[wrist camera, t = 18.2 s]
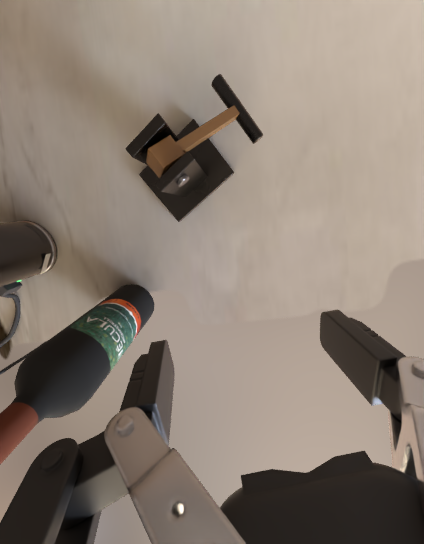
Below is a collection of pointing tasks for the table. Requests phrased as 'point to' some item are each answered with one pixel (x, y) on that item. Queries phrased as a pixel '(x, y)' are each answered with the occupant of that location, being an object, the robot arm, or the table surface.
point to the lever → (203, 131)
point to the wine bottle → (73, 363)
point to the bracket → (181, 169)
